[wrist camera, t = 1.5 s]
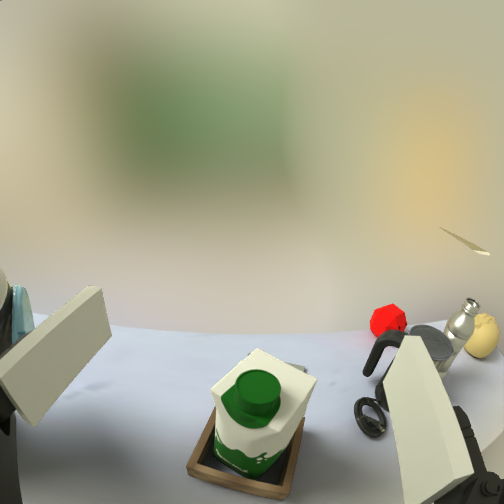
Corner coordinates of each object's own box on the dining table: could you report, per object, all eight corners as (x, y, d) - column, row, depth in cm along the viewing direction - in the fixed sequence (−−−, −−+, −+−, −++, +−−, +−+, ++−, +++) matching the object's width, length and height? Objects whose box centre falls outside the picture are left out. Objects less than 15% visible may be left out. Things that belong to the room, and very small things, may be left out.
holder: (188, 474, 27) (186, 466, 26) (218, 409, 39) (219, 395, 37) (281, 500, 25) (288, 494, 23) (298, 429, 37) (305, 417, 35)
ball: (383, 350, 55) (396, 324, 52) (361, 330, 61) (372, 304, 58) (402, 339, 58) (415, 314, 55) (381, 321, 65) (391, 297, 62)
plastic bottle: (416, 386, 44) (464, 308, 36) (415, 365, 50) (456, 290, 42) (440, 392, 42) (490, 316, 34) (438, 371, 48) (480, 298, 40)
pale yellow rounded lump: (469, 333, 61) (485, 302, 56) (492, 357, 50) (511, 326, 46) (450, 340, 58) (468, 307, 53) (475, 368, 47) (497, 335, 43)
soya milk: (203, 456, 31) (200, 375, 22) (241, 419, 38) (258, 327, 29) (254, 490, 26) (288, 429, 18) (289, 447, 33) (332, 363, 25)
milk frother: (413, 383, 45) (448, 328, 39) (417, 445, 32) (468, 393, 25) (352, 371, 49) (380, 313, 43) (344, 436, 35) (385, 381, 29)
